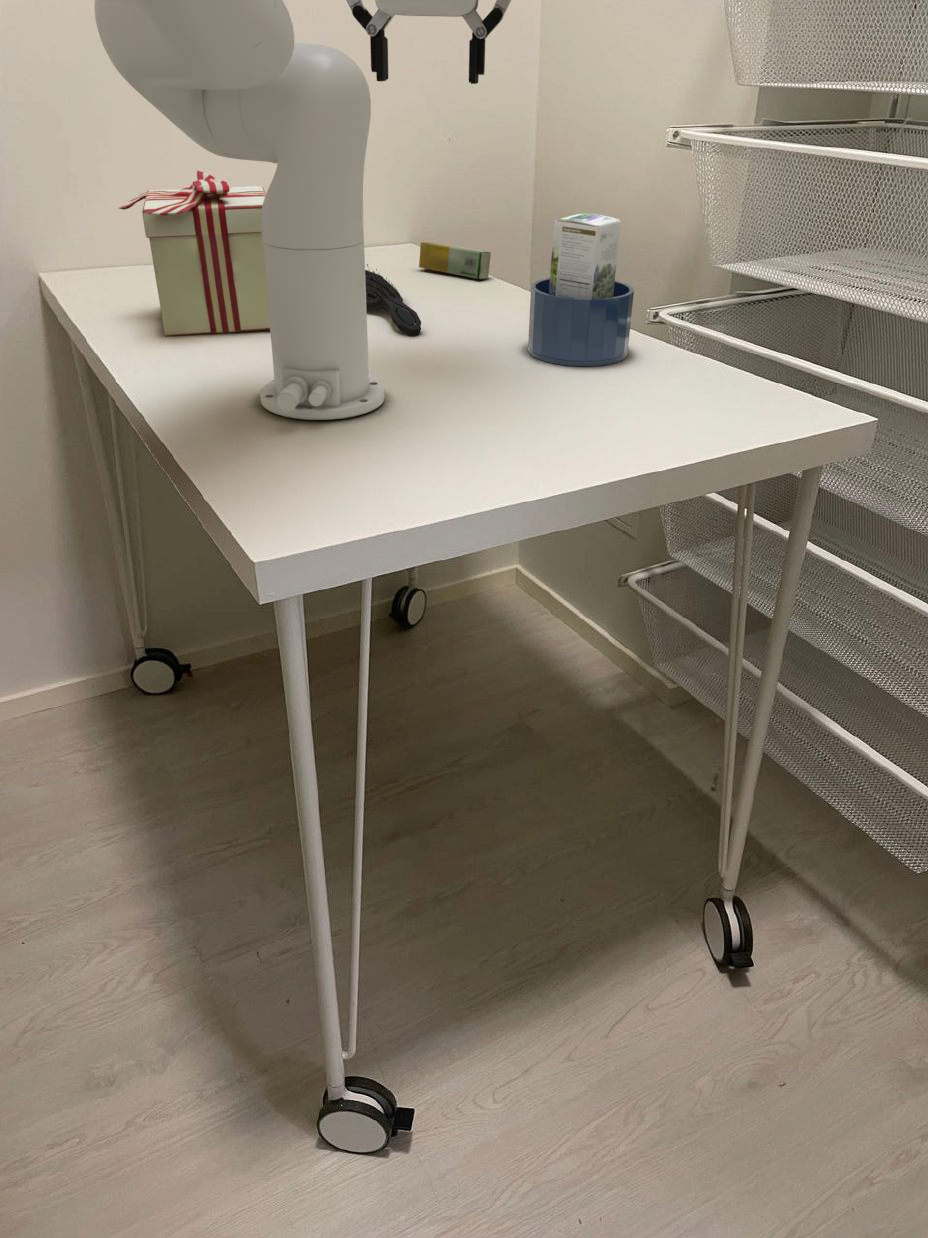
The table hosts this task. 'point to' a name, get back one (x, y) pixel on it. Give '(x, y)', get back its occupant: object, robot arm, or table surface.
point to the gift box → (207, 256)
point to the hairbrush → (390, 303)
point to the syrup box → (584, 256)
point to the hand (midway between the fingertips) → (427, 81)
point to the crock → (579, 326)
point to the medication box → (455, 260)
